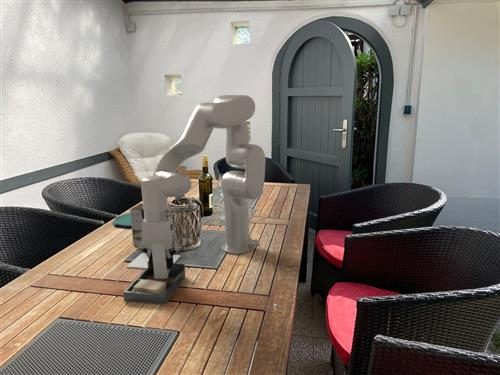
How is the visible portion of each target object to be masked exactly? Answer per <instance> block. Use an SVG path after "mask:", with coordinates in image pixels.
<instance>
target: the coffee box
mask: <svg viewBox="0 0 500 375" xmlns="http://www.w3.org/2000/svg"><path fill="white" fill-rule="evenodd" d="M129 211H130V212H129V213H131V224H132V227H131V233H132V234H131V235H132V244H133V247H138V244H139V243H140V242H141V240H142V225H143V219H144V208H143V203H139V204H137V205H134V206H133V207H132V208H130V209H129Z"/></svg>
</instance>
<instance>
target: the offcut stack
mask: <svg viewBox="0 0 500 375" xmlns="http://www.w3.org/2000/svg"><path fill="white" fill-rule="evenodd" d="M150 280H151V279H146V280H140V281H139V282H138V283H137V284H136V285H135V286H134V287H133V290H132V292H142V293H154V294H164V293H165V292H166V282H159V281H160V280H159V281H150Z"/></svg>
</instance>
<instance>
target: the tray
mask: <svg viewBox="0 0 500 375" xmlns="http://www.w3.org/2000/svg"><path fill="white" fill-rule="evenodd" d="M147 263H148V268H147V269H144V270H143V271H142V272H141V274H139V275H138V277H136V279H134V280H133V281H132V283H131V284H129V285H128V286H127V288H126V289H124V291H123V292H122V293H123V300H124V302H133V303H145V304H152V305H153V304H156V305H164V306H165V305H166V304H167V303H168V302H169V300H170V299H171V297H172V296H173V295H174V294H175V292H176V291H177V289H178V288H179V286H180V285H181V284H182V282H183V281H184V280H185V279H186V268H185V267H186V265H185V263H182V262H181V263H179V262H176V263H173V266H172V267H171V268H170V271H169V274H168V277H171V278H175V279H174V280H173V281H170V280H160V279H149V278H150V276H154V267H153V268H150V264H149V261H148V262H147ZM148 279H149V280H150V281H159V282H166V292H165V293H164V294H154V293H142V292H132V290H133V287H134V286H135V285H136V284H137V283H138V282H139V281H140V280H148Z"/></svg>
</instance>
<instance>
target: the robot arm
mask: <svg viewBox="0 0 500 375" xmlns="http://www.w3.org/2000/svg"><path fill="white" fill-rule="evenodd" d="M255 112H256V103H255V100H254V99H253V97H251V96H249V95H245V94H224V95H220V96H217V97H215V98H214V100H213V102H202V103H199V104H198V105H196V106H195V108H194V110H193V112H192V114H191V116H190V118H189V120H188V122H187V124H186V126H185V129H184V130H183V132H182V135H181V137H180V139H179V140H178V141H177V142H176V143H174V144H173V145H172V146H171V147H169V149H168V150H167V151H166V152H165V153H164V154H163V156H162V157H161V158H160V160H159V162H158V164H157V165H156V168H155V170H154V173H153V175H151V176H150V175H149V176H146V177H143V178H142V179H141V182H140V188H141V196H142V198H141V200H142V204H143V208H144V219H143V225H142V240H141V242H140V243H139V244H138V246H137V247H138V248H139V249H140V250H142V253H146V254H147V257H148V258H149V264H150V268H153V257H152V248H151V245H152V244H163V245H164V247H165V252H166V254H167V258H166V263H167V269H170V268H171V267H172V266H173V255H176V253H177V252H179V251H180V250H181V249H182V248H183V247H182V245H181V244H180V243H179V241H178V240H177V235H176V229H175V224H174V222H173V218H172V217H173V212H172V211H170V210H169V205H168V203H169V202H168V201H169V200H168V198H174V197H175V198H177V197H182V196H186V194H188V193H189V192H190V191H191V188H192V180H191V178H190V177H189V176H188V175H187V174H184V173H181V172H177V170H178V168H179V167H180V166H181V164H182V163H183V162H185V161H186V160H188V159H190V158H193V157H194V156H197V155H199V154H201V153H202V152H204V150H205V148H206V146H207V144H208V142H209V139H210V137H211V135H212V133H213V131H214V129H221V130H222V129H225V131H226V140H225V142H226V143H225V144H226V145H225V161H226V164H227V165H228V166H230V167H232V168H235V169H240V170H241V169H242V170H245V172H244V171H239V170H230V171H226V172H225V173H224V174H223V175H222V177H221V179H220V188H221V192H222V197H223V198H222V199H223V205H224V208H223V210H224V212H223V213H224V234H225V235H224V236H225V238H224V239H225V241H224V242H223V243H222V245H221V250H222V251H223V252H225V253H227V254H231V255H241V254H243V255H244V254H247V253H249V252H251V251H253V249H254V247H260V246H261V245H260V244H261V242H260V240H258V239H252V238H251V237H252V236H251V235H250V224H249V218H250V216H249V210H250V209H249V203H248V202H249V201H248V200H250V201H251V200H257V199H259V198H260V197H261V196H262V194H263V192H264V187H265V178H266V177H265V174H266V154H265V151H264V150H263V148H262V147H261V146H260V145H258V144H255V143H254V144H253V143H250V128H249V126H248V122H247V121H248V120H250V119H252V117H253V116H254V114H255ZM170 216H172V217H170ZM173 246H174V247H175V248H173Z"/></svg>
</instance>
